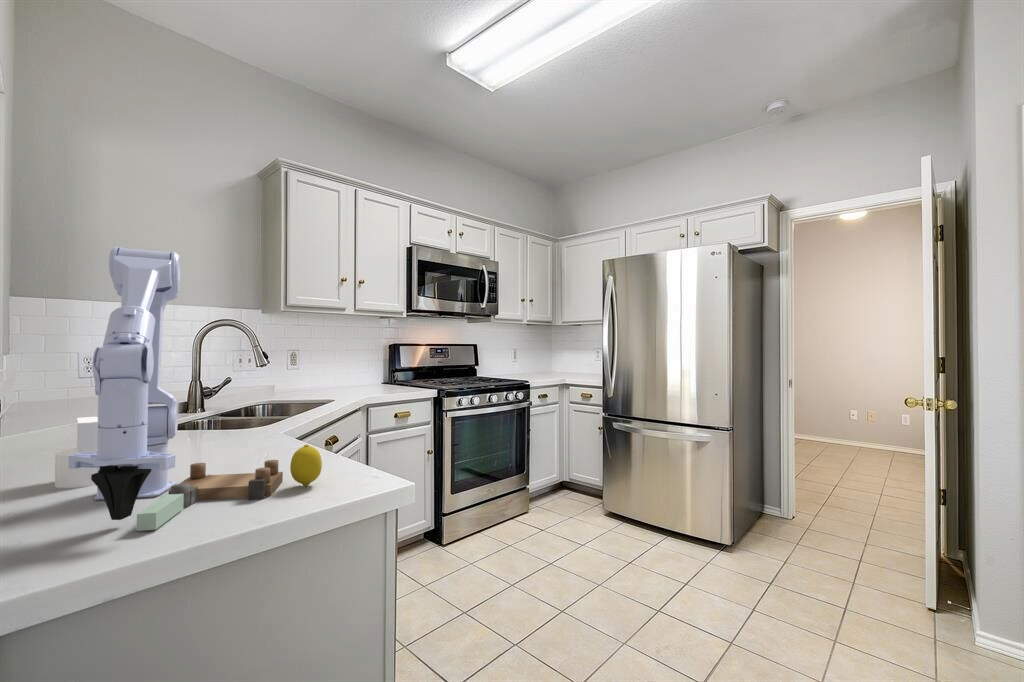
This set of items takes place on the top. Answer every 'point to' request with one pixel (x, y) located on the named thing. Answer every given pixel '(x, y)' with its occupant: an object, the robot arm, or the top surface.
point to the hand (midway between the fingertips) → (121, 517)
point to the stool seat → (228, 484)
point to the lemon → (306, 465)
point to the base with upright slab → (85, 444)
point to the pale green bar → (159, 512)
